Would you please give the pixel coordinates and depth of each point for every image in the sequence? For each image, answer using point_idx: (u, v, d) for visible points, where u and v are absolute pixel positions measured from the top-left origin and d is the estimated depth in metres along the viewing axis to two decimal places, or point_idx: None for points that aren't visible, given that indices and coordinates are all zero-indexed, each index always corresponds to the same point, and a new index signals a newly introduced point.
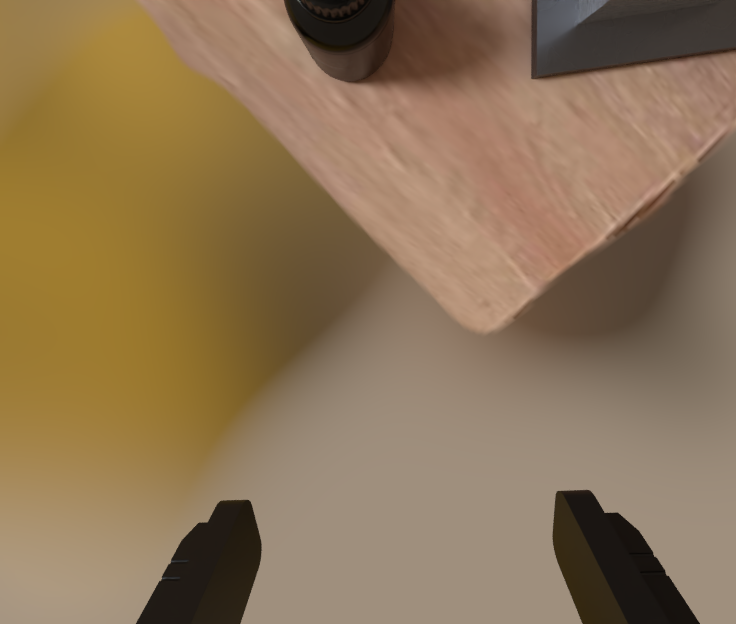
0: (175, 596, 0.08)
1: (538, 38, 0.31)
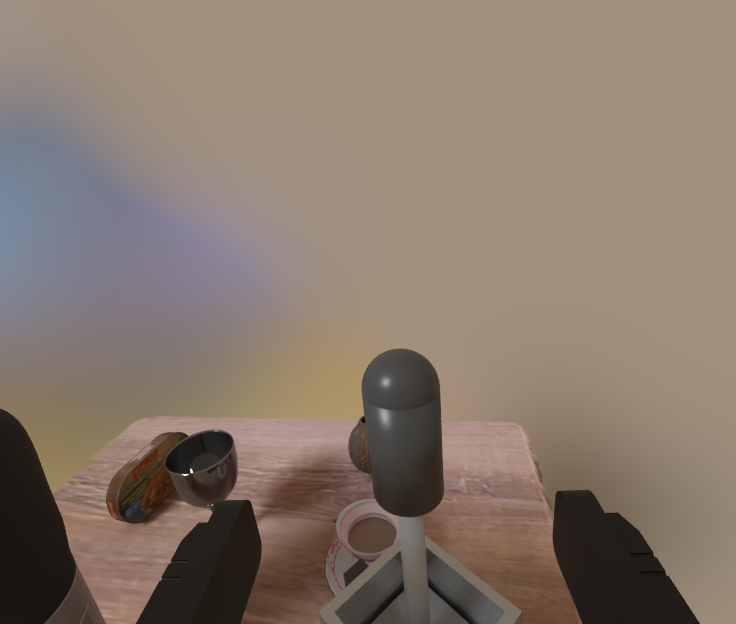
0: (175, 596, 0.08)
1: None
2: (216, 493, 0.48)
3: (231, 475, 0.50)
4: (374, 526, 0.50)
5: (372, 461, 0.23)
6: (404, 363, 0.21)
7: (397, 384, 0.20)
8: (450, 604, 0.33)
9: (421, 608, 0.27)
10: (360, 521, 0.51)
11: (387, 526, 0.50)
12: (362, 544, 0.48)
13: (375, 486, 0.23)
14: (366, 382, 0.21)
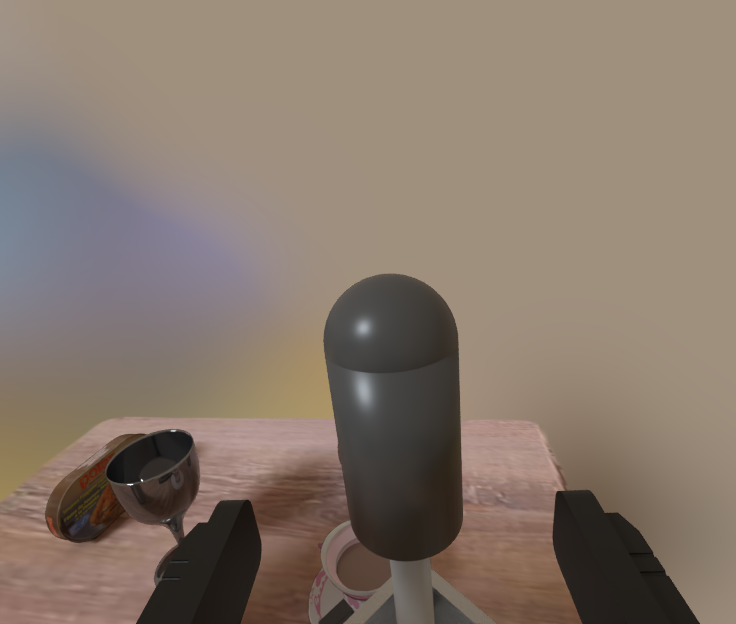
0: (175, 596, 0.08)
1: None
2: (169, 507, 0.39)
3: (190, 485, 0.40)
4: (370, 553, 0.40)
5: (344, 467, 0.14)
6: (396, 290, 0.11)
7: (383, 324, 0.11)
8: None
9: None
10: (352, 546, 0.41)
11: None
12: (354, 577, 0.38)
13: (350, 508, 0.14)
14: (329, 327, 0.12)
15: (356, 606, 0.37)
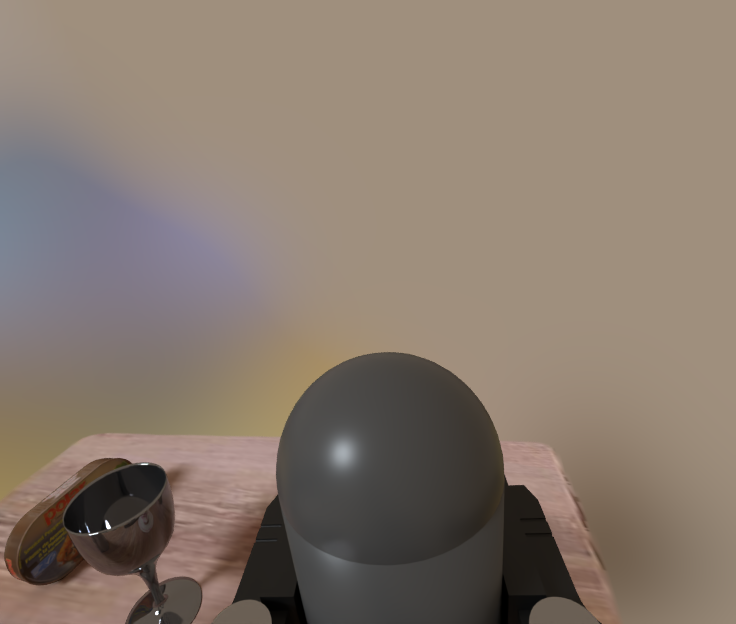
0: (278, 553, 0.09)
1: None
2: (137, 557, 0.34)
3: (161, 530, 0.35)
4: None
5: None
6: (400, 401, 0.06)
7: (375, 475, 0.06)
8: None
9: None
10: None
11: None
12: None
13: None
14: (283, 455, 0.07)
15: None
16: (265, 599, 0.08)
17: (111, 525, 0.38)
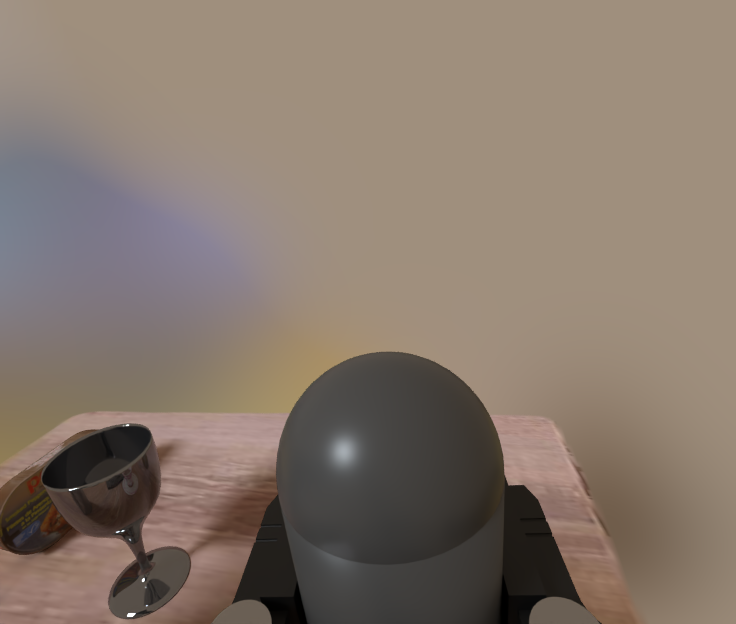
0: (278, 553, 0.09)
1: None
2: (119, 517, 0.32)
3: (146, 490, 0.34)
4: None
5: None
6: (400, 401, 0.06)
7: (375, 474, 0.06)
8: None
9: None
10: None
11: None
12: None
13: None
14: (283, 455, 0.07)
15: None
16: (265, 599, 0.08)
17: None
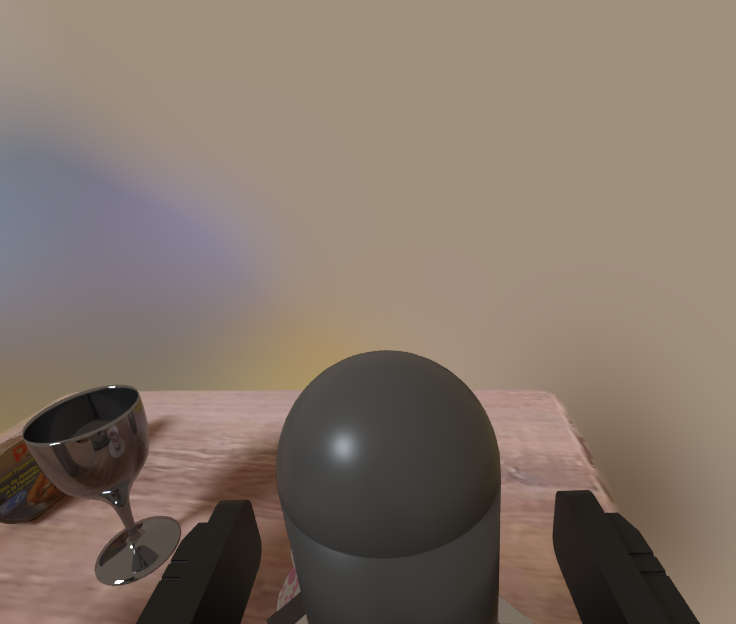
0: (175, 596, 0.08)
1: None
2: (104, 476, 0.31)
3: (132, 449, 0.32)
4: None
5: None
6: (397, 398, 0.06)
7: (373, 470, 0.06)
8: None
9: None
10: None
11: None
12: None
13: None
14: (283, 452, 0.07)
15: None
16: None
17: None
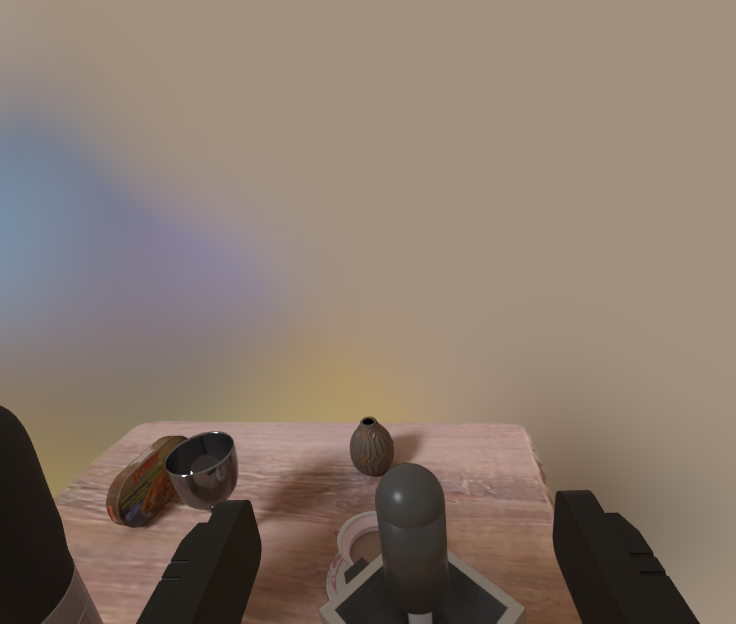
0: (175, 596, 0.08)
1: None
2: (216, 495, 0.48)
3: (232, 477, 0.49)
4: (377, 540, 0.48)
5: (385, 563, 0.25)
6: (413, 485, 0.23)
7: (407, 505, 0.23)
8: (452, 603, 0.32)
9: None
10: (363, 534, 0.49)
11: None
12: None
13: (387, 584, 0.26)
14: (379, 499, 0.24)
15: None
16: None
17: None
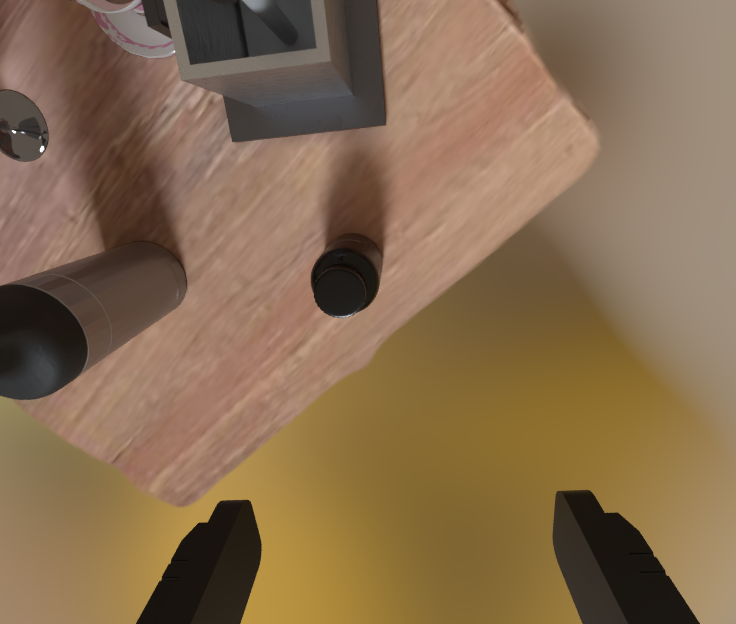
0: (175, 596, 0.08)
1: (361, 125, 0.41)
2: None
3: None
4: None
5: None
6: None
7: None
8: None
9: (280, 18, 0.31)
10: None
11: None
12: None
13: None
14: None
15: None
16: None
17: None
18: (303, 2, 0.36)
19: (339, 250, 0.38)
